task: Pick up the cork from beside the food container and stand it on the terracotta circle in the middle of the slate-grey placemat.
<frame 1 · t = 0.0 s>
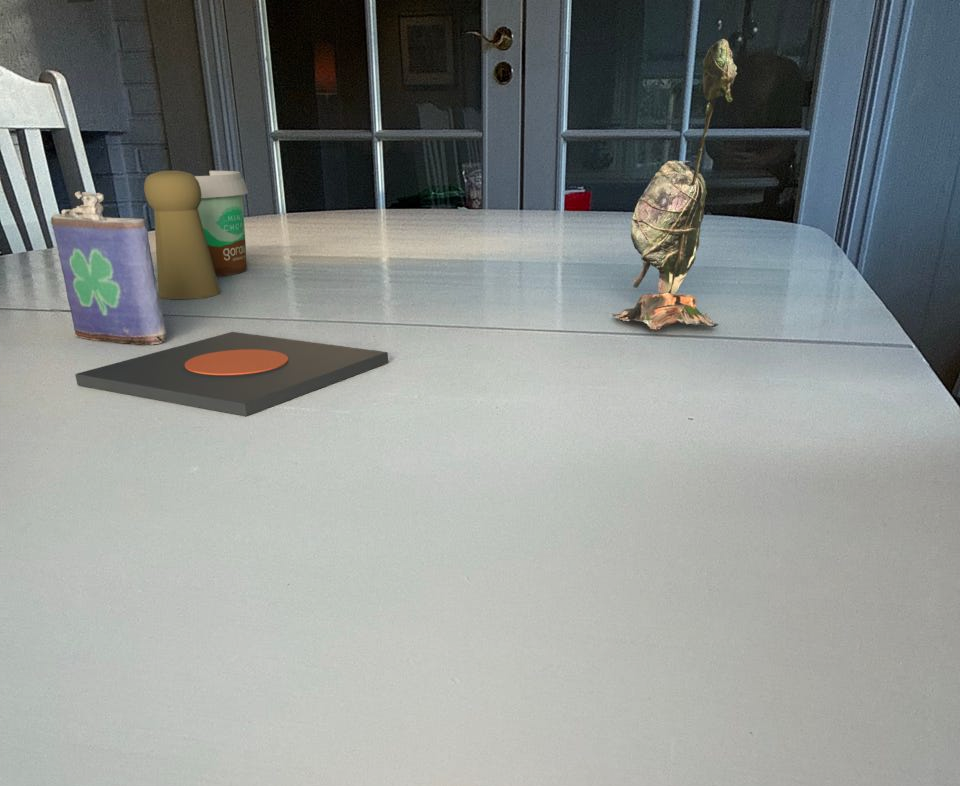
plant with pod: (661, 325, 76), on the table
cork: (190, 295, 91), on the table
flask: (119, 341, 73), on the table
food container: (229, 273, 103), on the table
placemat: (238, 374, 63), on the table
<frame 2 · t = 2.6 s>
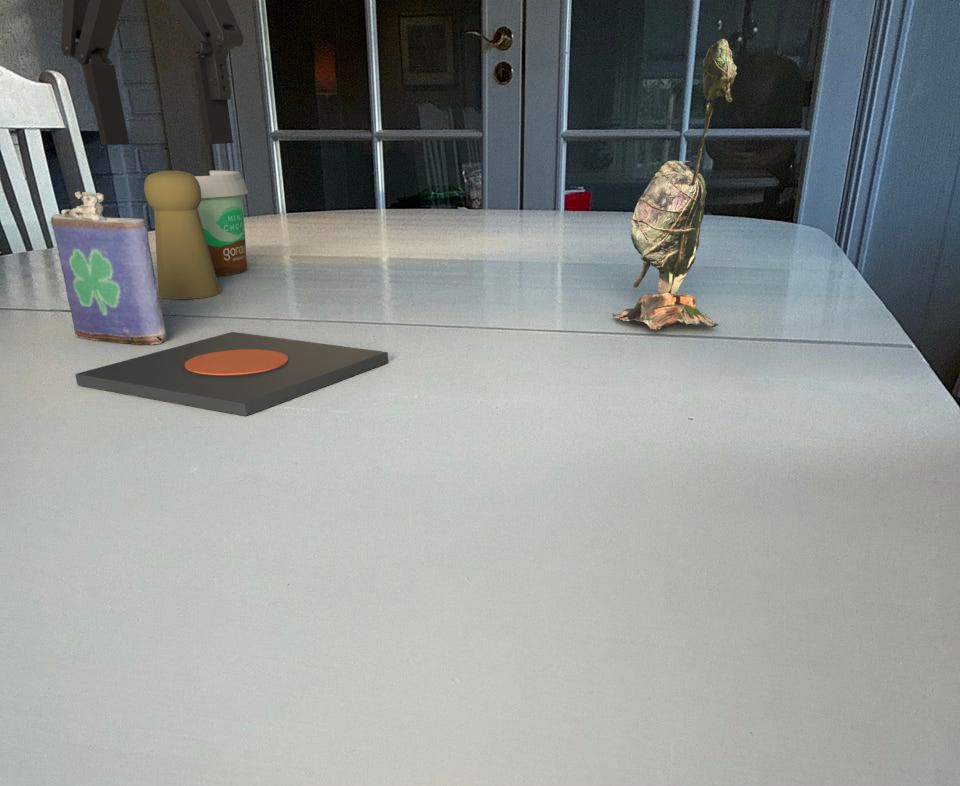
hand: (165, 144, 84), 13 cm above the table, tool pointing down, fingers open, 13 cm apart
nothing on the table moved.
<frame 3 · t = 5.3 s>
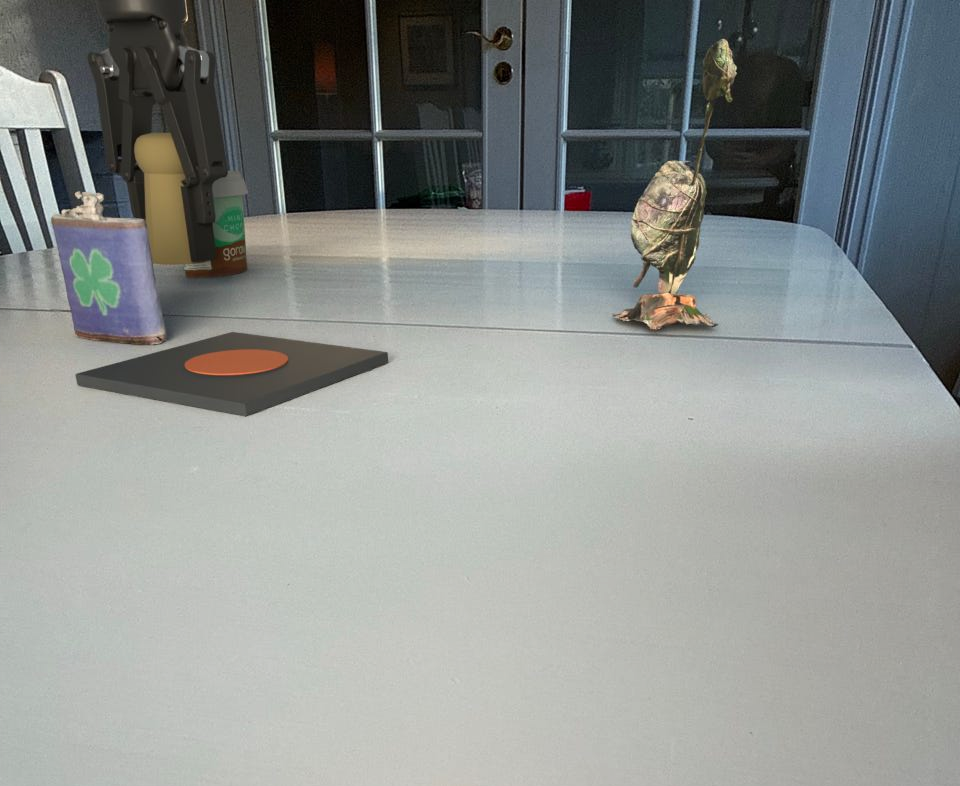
hand: (179, 256, 89), 3 cm above the table, tool pointing down, fingers closed on cork, 6 cm apart
cork: (179, 262, 89), point 3 cm above the table, touching gripper
everything else where it was.
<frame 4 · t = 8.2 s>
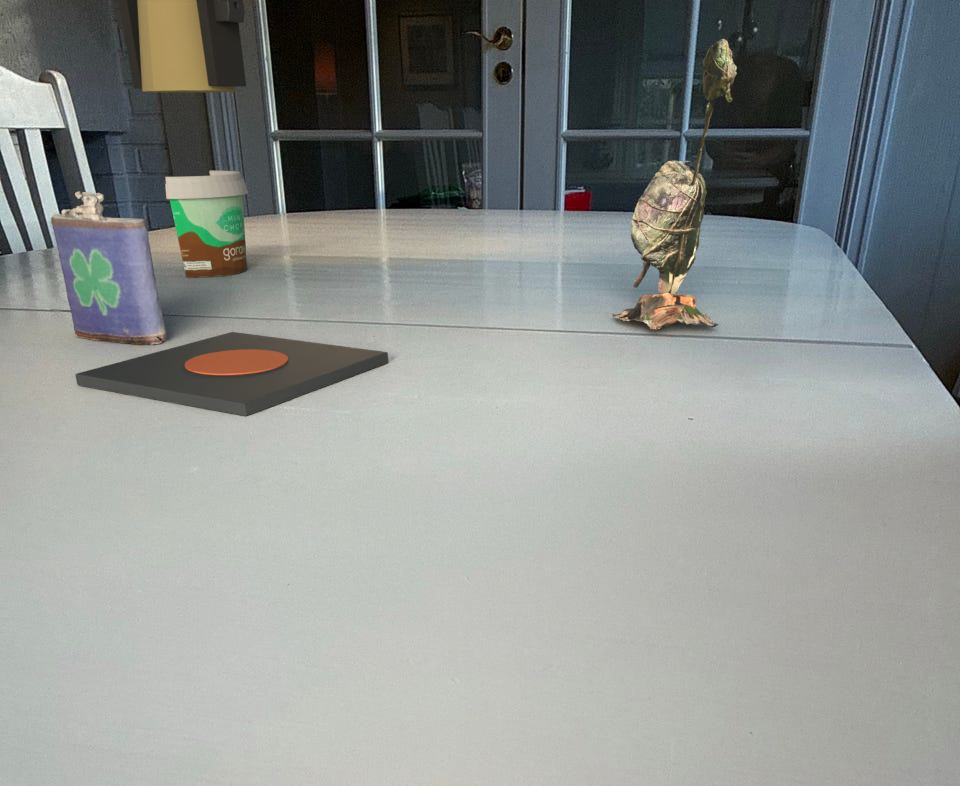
hand: (189, 86, 59), 17 cm above the table, tool pointing down, fingers closed on cork, 6 cm apart
cork: (190, 95, 60), point 17 cm above the table, touching gripper
everything else where it was.
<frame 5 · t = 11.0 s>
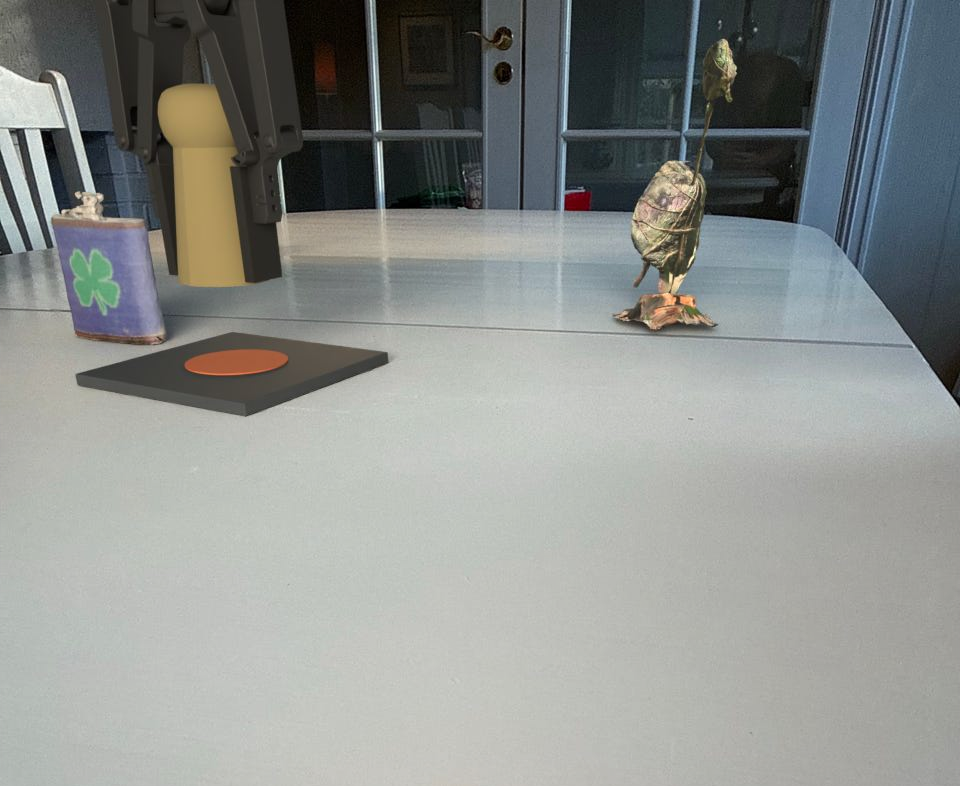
hand: (225, 275, 59), 6 cm above the table, tool pointing down, fingers closed on cork, 6 cm apart
cork: (226, 282, 59), point 6 cm above the table, touching gripper
everything else where it was.
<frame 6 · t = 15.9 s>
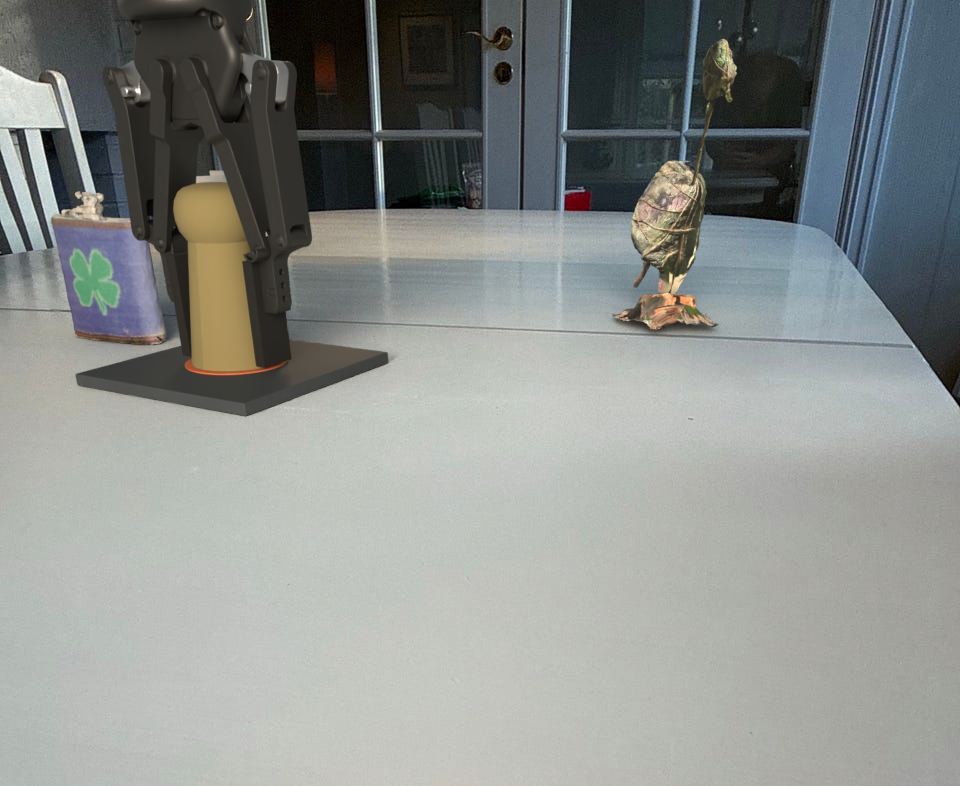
hand: (236, 356, 62), 1 cm above the table, tool pointing down, fingers closed on cork, 6 cm apart
cork: (237, 363, 62), point 1 cm above the table, touching gripper
everything else where it was.
when the fingers open (2 cm above the table, at t = 17.2 s): cork stays where it is, resting on placemat.
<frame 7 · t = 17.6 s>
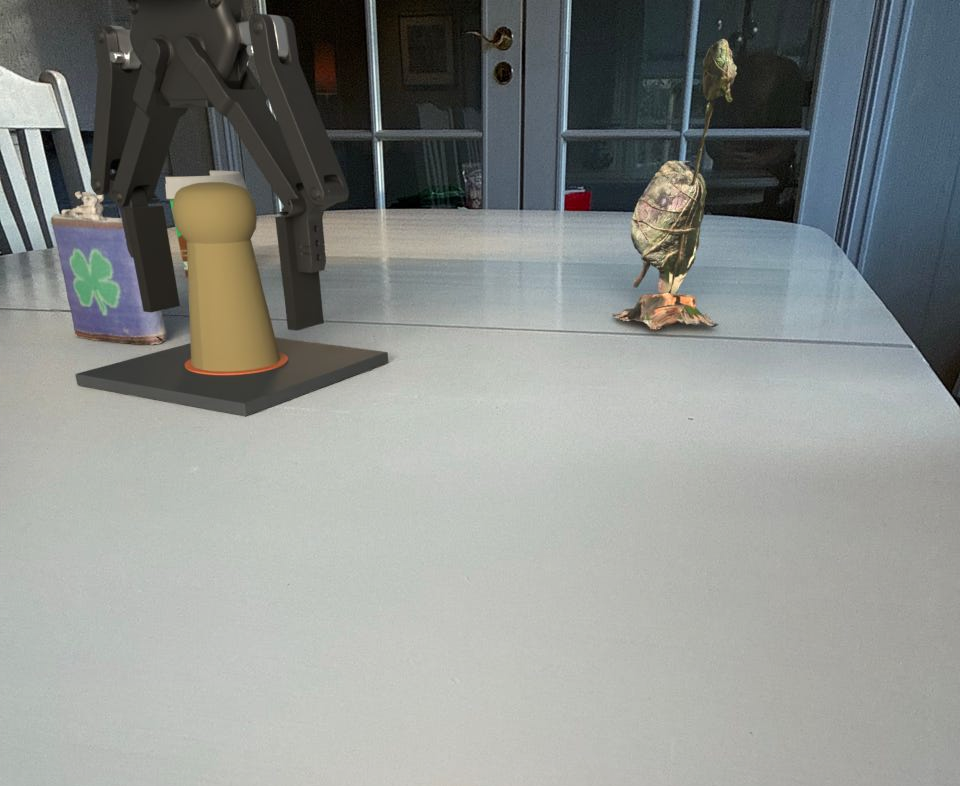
hand: (230, 317, 61), 4 cm above the table, tool pointing down, fingers open, 12 cm apart
cork: (236, 363, 62), point 1 cm above the table, touching placemat
everything else where it was.
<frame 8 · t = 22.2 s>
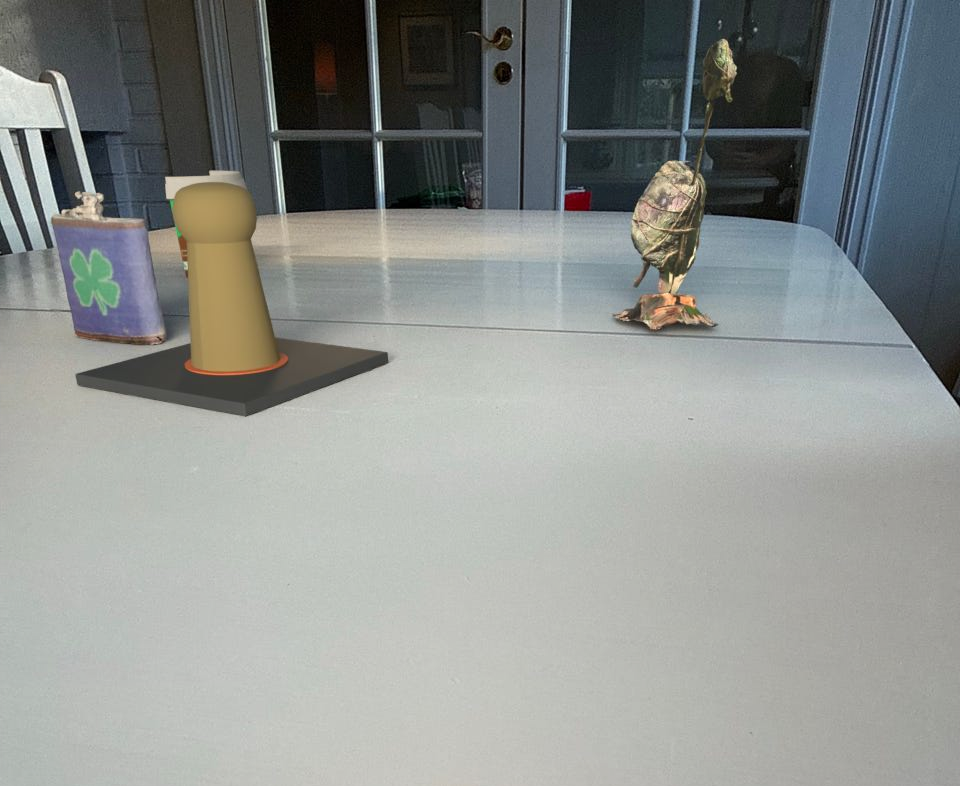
nothing on the table moved.
at the end: cork 0.1 cm off-centre on the placemat, point 0.7 cm above the placemat's base; cork tilted 0°; the gripper is holding nothing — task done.
